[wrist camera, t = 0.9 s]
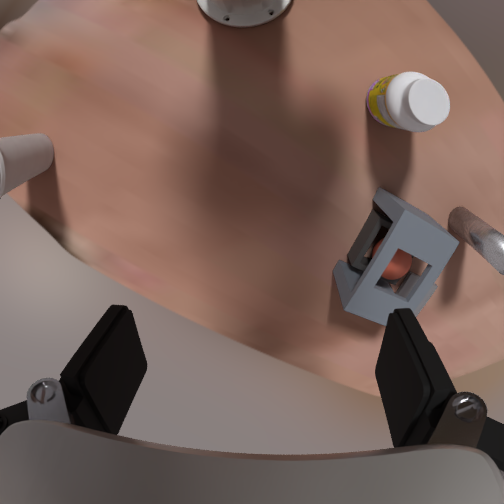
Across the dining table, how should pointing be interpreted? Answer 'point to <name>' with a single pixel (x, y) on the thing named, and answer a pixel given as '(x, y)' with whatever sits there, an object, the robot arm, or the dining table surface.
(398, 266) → the button
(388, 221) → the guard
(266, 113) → the dining table surface
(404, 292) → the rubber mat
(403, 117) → the supplement bottle
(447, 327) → the dining table surface
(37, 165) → the coffee cup
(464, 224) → the silver metal cylinder
